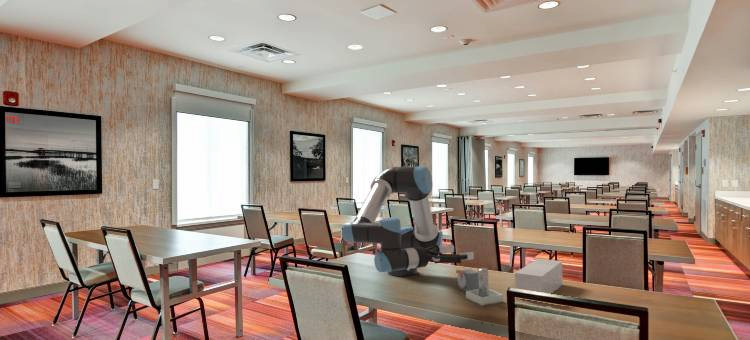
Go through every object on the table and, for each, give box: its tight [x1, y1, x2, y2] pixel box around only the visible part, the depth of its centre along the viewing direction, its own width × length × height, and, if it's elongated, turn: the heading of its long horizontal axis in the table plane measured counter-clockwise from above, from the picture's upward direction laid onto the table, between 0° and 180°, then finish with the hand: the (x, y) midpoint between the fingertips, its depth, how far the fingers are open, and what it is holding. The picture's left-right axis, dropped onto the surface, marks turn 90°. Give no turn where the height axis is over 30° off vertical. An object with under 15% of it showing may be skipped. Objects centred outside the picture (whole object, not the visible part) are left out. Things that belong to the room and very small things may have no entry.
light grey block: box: [514, 258, 563, 294], centre depth 187 cm, size 32×11×11 cm, turn 143°
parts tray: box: [465, 288, 504, 307], centre depth 175 cm, size 10×10×3 cm
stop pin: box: [477, 267, 490, 297], centre depth 175 cm, size 4×4×12 cm
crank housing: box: [455, 268, 479, 293], centre depth 190 cm, size 7×8×9 cm
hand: (463, 251), depth 171 cm, fingers open, 13 cm apart
